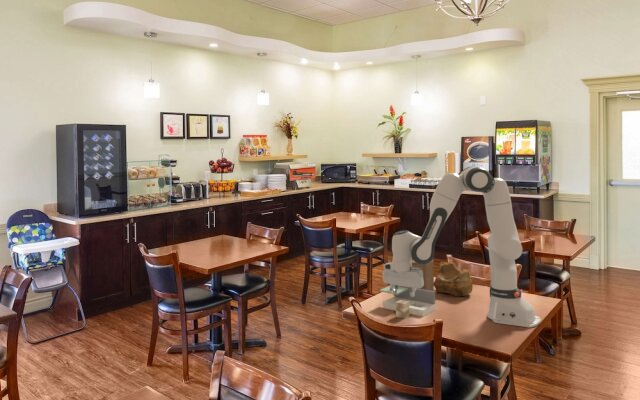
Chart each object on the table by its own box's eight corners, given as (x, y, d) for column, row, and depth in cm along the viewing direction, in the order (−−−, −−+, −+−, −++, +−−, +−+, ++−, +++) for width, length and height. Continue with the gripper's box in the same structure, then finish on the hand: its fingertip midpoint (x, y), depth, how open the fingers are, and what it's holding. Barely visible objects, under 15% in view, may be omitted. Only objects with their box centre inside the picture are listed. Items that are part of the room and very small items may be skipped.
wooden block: (425, 302, 249) (425, 264, 246) (408, 299, 255) (407, 261, 253) (434, 297, 256) (434, 260, 254) (416, 294, 262) (416, 257, 260)
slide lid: (408, 289, 244) (408, 282, 244) (397, 294, 236) (397, 287, 236) (390, 286, 251) (390, 279, 250) (379, 291, 243) (379, 283, 243)
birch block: (409, 316, 230) (409, 301, 229) (404, 318, 226) (404, 304, 226) (401, 314, 233) (400, 299, 232) (396, 316, 229) (395, 302, 229)
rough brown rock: (424, 290, 273) (422, 264, 271) (449, 284, 279) (447, 258, 276) (449, 303, 251) (447, 275, 249) (476, 296, 257) (474, 268, 255)
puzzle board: (435, 309, 237) (435, 291, 236) (423, 316, 228) (423, 297, 227) (395, 301, 252) (395, 284, 251) (383, 307, 242) (382, 290, 241)
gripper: (425, 266, 223) (426, 296, 224) (387, 262, 236) (388, 290, 237) (419, 269, 218) (420, 300, 219) (380, 264, 231) (381, 293, 233)
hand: (403, 294), depth 229 cm, fingers open, 8 cm apart
